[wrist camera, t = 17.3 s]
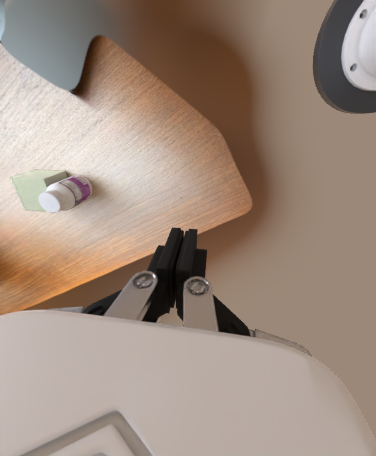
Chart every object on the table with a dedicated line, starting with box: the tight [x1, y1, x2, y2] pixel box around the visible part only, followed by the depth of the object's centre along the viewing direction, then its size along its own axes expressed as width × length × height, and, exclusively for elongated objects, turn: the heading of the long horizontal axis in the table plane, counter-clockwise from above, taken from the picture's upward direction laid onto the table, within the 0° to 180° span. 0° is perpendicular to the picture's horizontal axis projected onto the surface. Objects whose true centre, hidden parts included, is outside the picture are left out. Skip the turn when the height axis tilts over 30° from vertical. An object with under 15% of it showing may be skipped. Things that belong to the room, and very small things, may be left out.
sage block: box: [10, 169, 67, 212], centre depth 40 cm, size 7×7×6 cm
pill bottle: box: [38, 175, 93, 213], centre depth 38 cm, size 5×5×10 cm
